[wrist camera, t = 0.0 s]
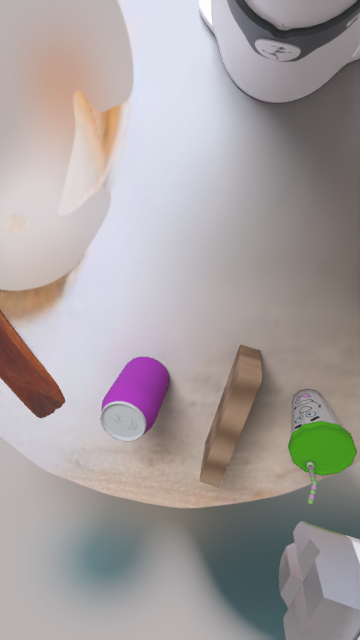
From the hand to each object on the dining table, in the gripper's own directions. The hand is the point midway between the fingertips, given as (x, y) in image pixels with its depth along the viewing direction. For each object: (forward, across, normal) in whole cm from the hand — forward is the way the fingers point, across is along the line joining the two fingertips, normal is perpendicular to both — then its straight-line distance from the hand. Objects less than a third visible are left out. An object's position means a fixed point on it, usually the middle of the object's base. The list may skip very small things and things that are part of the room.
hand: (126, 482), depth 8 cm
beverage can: (+41, +6, +20) cm, 46 cm away
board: (+41, -8, +20) cm, 46 cm away
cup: (+41, -19, +16) cm, 48 cm away
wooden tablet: (+42, +31, +25) cm, 58 cm away
